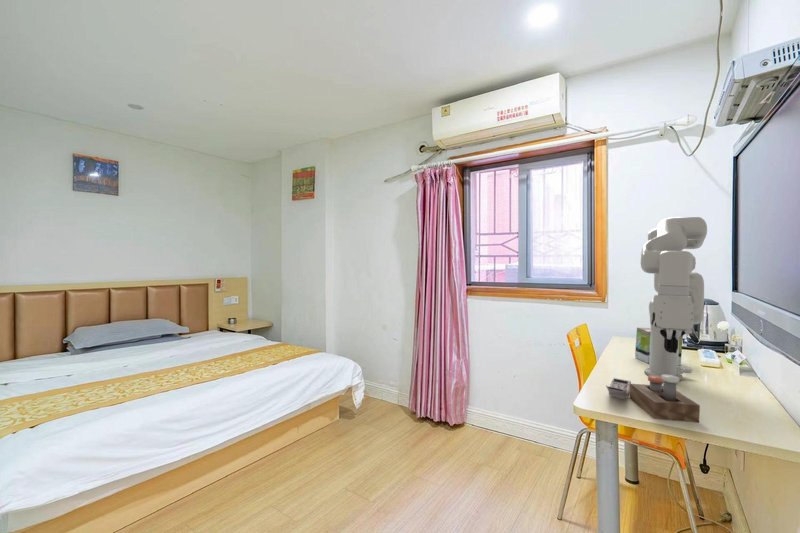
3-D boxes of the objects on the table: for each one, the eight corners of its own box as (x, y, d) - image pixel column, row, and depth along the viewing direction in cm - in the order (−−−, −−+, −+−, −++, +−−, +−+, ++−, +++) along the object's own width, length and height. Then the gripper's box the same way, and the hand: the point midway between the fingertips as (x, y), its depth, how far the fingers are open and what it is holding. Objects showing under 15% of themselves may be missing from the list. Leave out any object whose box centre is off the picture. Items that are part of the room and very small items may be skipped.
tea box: (647, 363, 166) (649, 331, 166) (634, 357, 176) (635, 327, 176) (682, 364, 166) (683, 332, 165) (666, 358, 176) (667, 327, 175)
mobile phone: (605, 385, 121) (614, 367, 141) (604, 403, 121) (613, 382, 141) (626, 390, 117) (632, 370, 137) (625, 408, 117) (631, 386, 138)
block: (668, 400, 123) (669, 386, 123) (699, 422, 107) (699, 405, 107) (629, 398, 125) (630, 383, 125) (653, 418, 109) (654, 402, 109)
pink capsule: (659, 397, 122) (660, 375, 122) (666, 402, 118) (667, 380, 117) (644, 396, 123) (645, 374, 123) (651, 401, 118) (652, 379, 118)
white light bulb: (673, 397, 114) (674, 374, 114) (681, 403, 110) (682, 379, 110) (657, 396, 115) (658, 373, 115) (665, 402, 110) (666, 378, 110)
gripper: (693, 291, 114) (690, 350, 114) (640, 289, 116) (638, 347, 117) (709, 293, 107) (706, 356, 107) (652, 291, 109) (649, 353, 109)
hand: (670, 351), depth 112 cm, fingers closed
